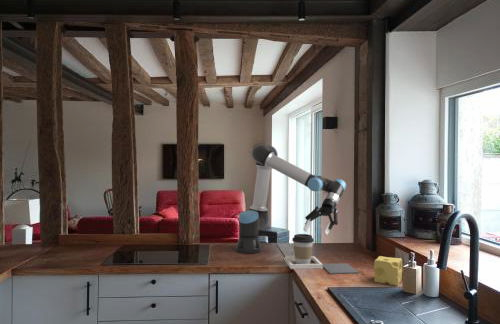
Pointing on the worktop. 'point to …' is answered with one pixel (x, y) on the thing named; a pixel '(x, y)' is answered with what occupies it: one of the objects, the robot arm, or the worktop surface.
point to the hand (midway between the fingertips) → (314, 232)
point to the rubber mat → (339, 268)
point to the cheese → (388, 270)
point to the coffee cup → (303, 248)
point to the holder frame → (303, 266)
